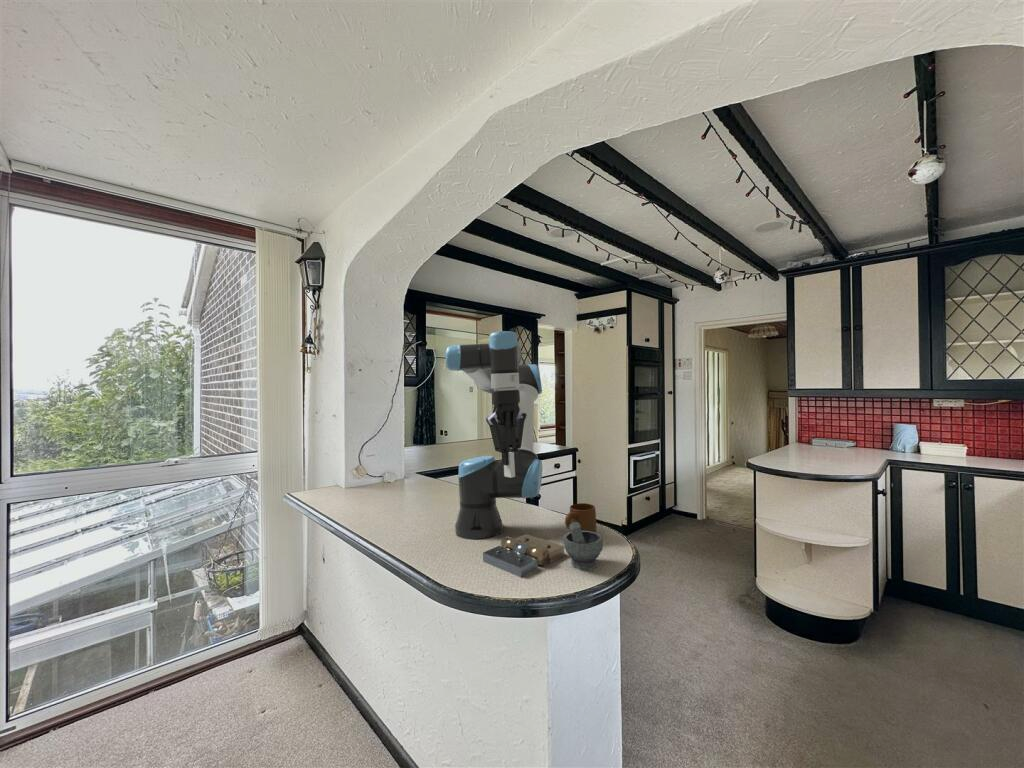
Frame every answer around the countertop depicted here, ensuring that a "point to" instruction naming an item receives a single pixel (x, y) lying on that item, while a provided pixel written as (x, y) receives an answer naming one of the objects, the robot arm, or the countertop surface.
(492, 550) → the loose leaf
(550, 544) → the fixed leaf
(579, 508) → the mug
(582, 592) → the countertop surface
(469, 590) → the countertop surface
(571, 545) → the mortar and pestle
